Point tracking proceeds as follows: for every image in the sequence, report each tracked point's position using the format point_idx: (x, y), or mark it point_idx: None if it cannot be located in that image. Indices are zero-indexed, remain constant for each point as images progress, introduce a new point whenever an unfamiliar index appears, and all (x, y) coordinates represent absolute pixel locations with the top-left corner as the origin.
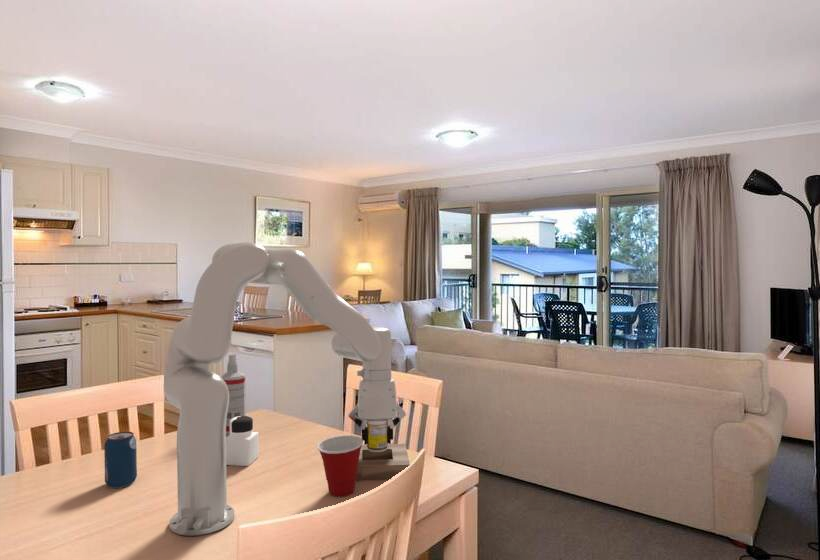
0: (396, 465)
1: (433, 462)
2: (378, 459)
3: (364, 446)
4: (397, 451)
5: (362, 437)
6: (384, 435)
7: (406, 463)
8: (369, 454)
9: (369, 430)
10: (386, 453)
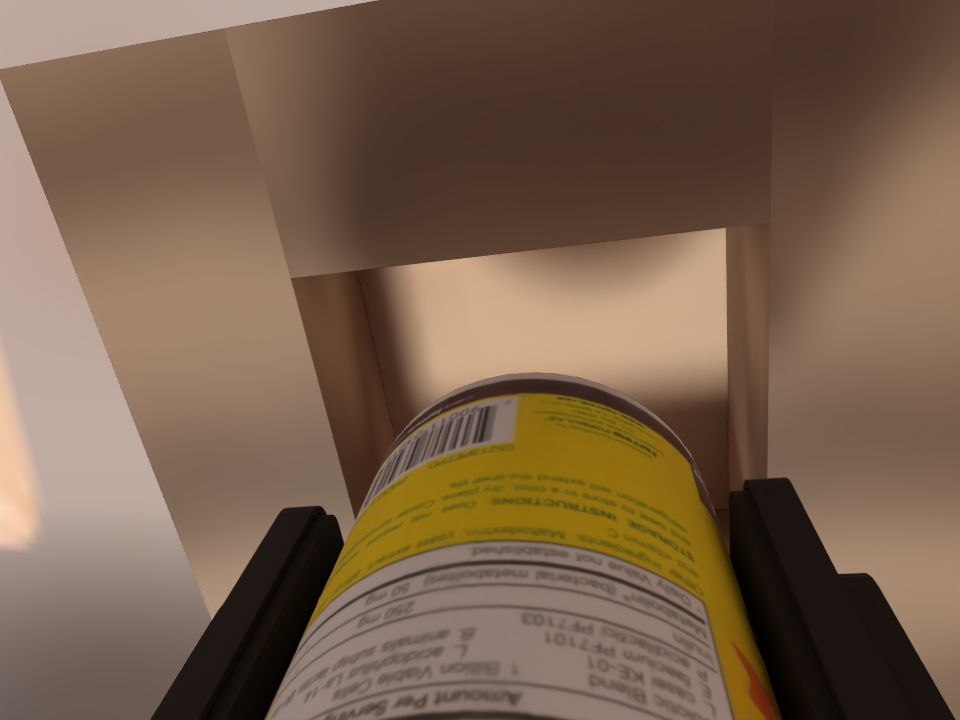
0: (192, 38)
1: (20, 501)
2: None
3: None
4: None
5: (872, 608)
6: (336, 586)
7: (60, 116)
8: None
9: (741, 713)
10: None
